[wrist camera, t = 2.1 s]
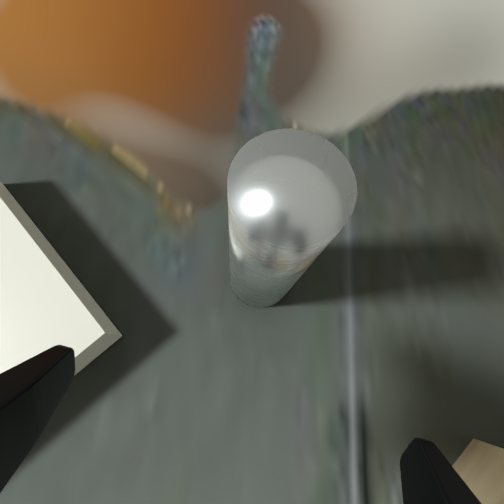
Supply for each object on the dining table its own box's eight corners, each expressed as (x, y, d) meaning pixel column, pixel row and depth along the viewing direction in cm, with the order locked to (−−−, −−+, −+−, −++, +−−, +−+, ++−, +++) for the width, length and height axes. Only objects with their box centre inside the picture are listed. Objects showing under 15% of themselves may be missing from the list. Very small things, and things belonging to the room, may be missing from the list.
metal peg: (301, 280, 23) (383, 190, 10) (258, 320, 22) (291, 274, 9) (261, 238, 24) (293, 107, 11) (218, 275, 23) (200, 177, 10)
